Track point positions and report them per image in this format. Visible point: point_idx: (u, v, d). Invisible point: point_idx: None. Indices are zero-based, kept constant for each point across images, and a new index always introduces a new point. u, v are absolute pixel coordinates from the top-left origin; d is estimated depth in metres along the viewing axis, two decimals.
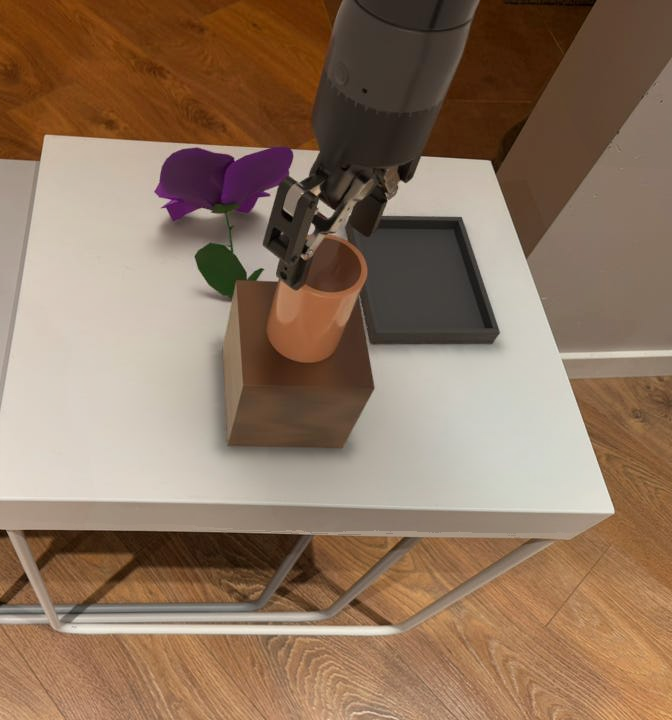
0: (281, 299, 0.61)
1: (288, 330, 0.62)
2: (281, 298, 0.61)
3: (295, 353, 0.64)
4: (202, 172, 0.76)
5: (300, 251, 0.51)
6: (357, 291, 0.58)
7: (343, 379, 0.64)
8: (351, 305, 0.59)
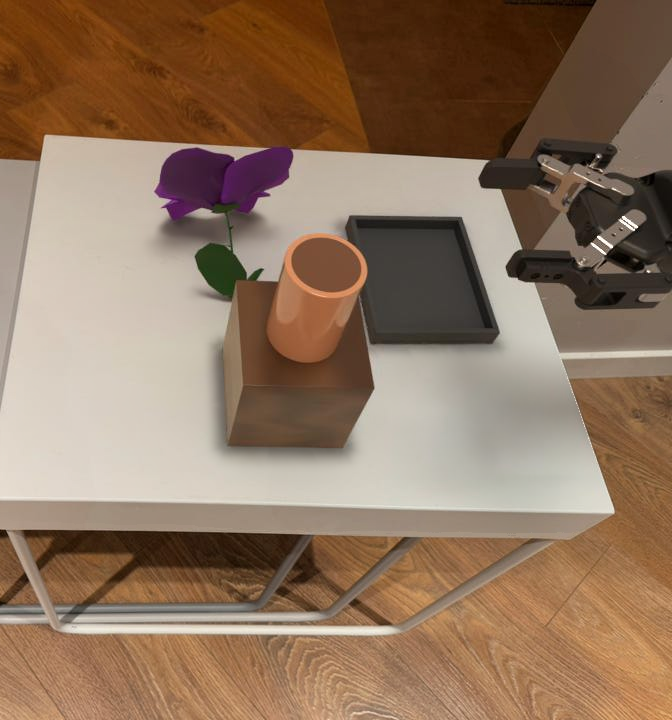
0: (281, 299, 0.61)
1: (288, 330, 0.62)
2: (281, 298, 0.61)
3: (295, 353, 0.64)
4: (202, 172, 0.76)
5: (555, 148, 0.57)
6: (357, 291, 0.58)
7: (343, 379, 0.64)
8: (351, 305, 0.59)
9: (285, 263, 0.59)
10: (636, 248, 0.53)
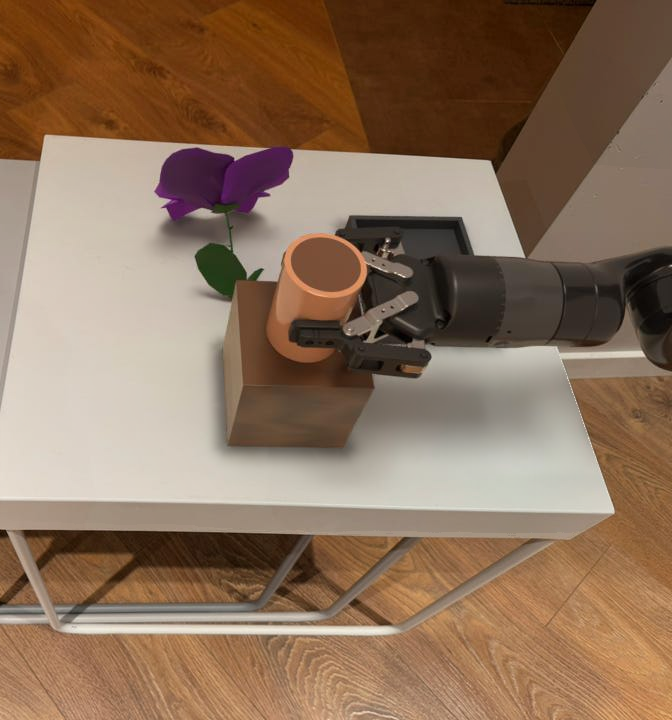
0: (281, 299, 0.61)
1: (288, 329, 0.62)
2: (280, 298, 0.61)
3: (295, 353, 0.64)
4: (202, 172, 0.76)
5: (348, 238, 0.64)
6: (357, 291, 0.58)
7: (343, 379, 0.64)
8: (351, 305, 0.59)
9: (285, 263, 0.59)
10: (408, 326, 0.60)
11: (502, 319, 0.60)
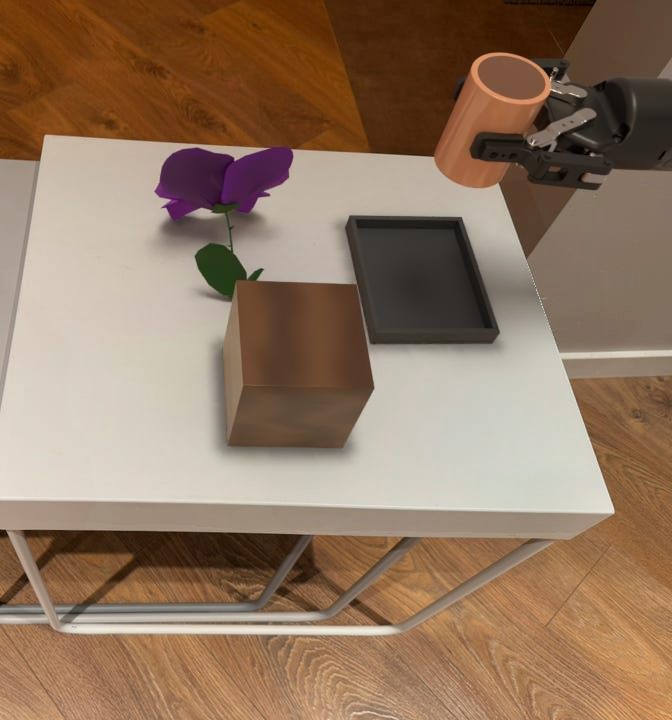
0: (463, 116, 0.63)
1: (466, 149, 0.64)
2: (463, 115, 0.63)
3: (468, 176, 0.66)
4: (202, 172, 0.76)
5: None
6: (544, 100, 0.60)
7: (343, 379, 0.64)
8: (534, 118, 0.62)
9: (472, 75, 0.61)
10: (587, 139, 0.62)
11: None
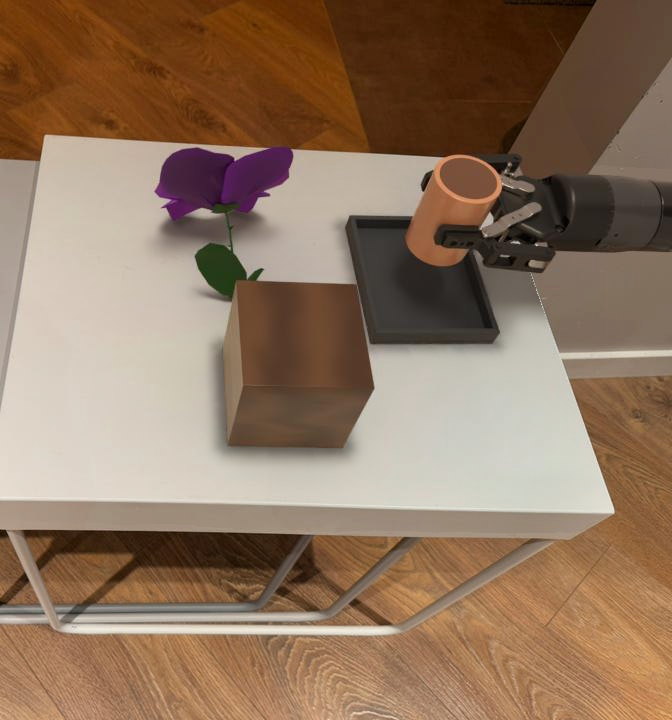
0: (428, 209, 0.74)
1: (431, 235, 0.75)
2: (427, 208, 0.74)
3: (434, 257, 0.77)
4: (202, 172, 0.76)
5: None
6: (495, 199, 0.71)
7: (343, 379, 0.64)
8: (488, 212, 0.72)
9: (435, 177, 0.72)
10: (533, 230, 0.73)
11: (611, 224, 0.73)
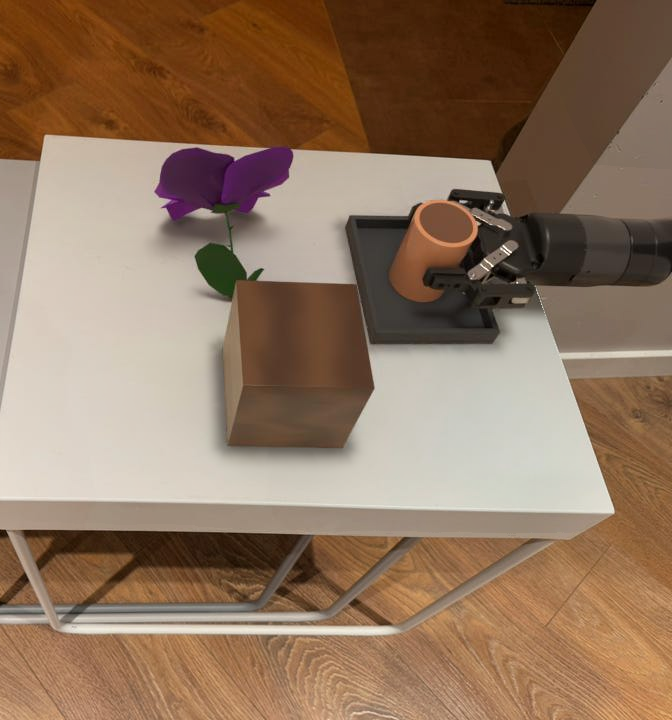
0: (409, 250, 0.79)
1: (412, 274, 0.80)
2: (408, 249, 0.79)
3: (414, 294, 0.82)
4: (202, 172, 0.76)
5: (461, 196, 0.82)
6: (471, 242, 0.76)
7: (343, 379, 0.64)
8: (464, 254, 0.77)
9: (415, 221, 0.77)
10: (510, 267, 0.77)
11: (583, 262, 0.77)
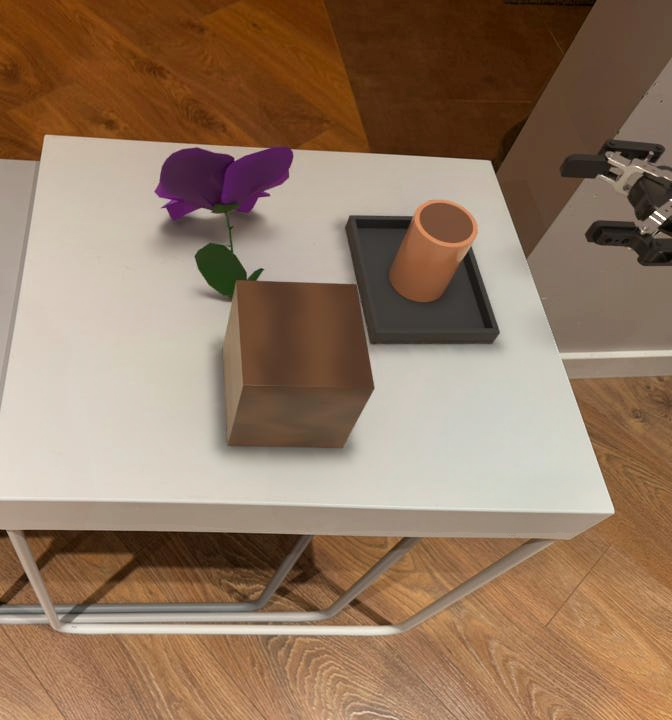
0: (409, 250, 0.79)
1: (412, 274, 0.80)
2: (408, 249, 0.79)
3: (414, 294, 0.82)
4: (202, 172, 0.76)
5: (618, 146, 0.75)
6: (471, 242, 0.76)
7: (343, 379, 0.64)
8: (464, 254, 0.77)
9: (415, 221, 0.77)
10: None
11: None
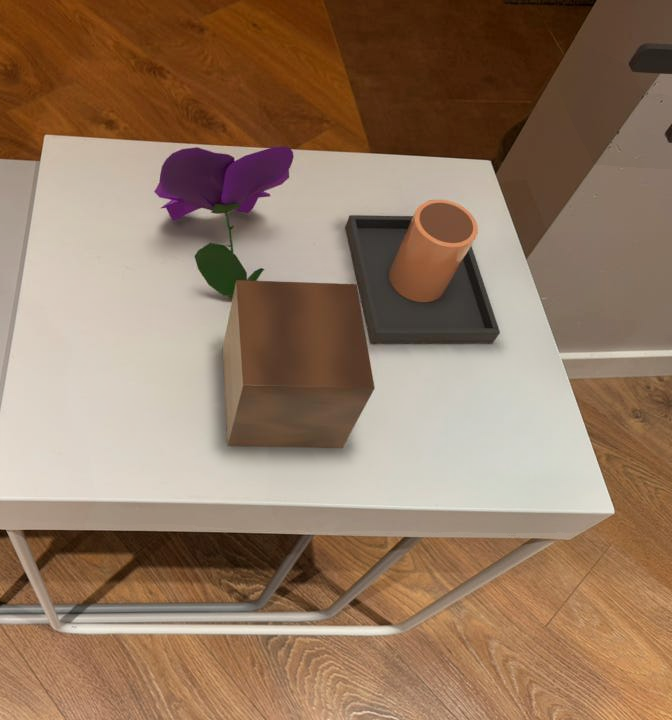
0: (409, 250, 0.79)
1: (412, 274, 0.80)
2: (408, 249, 0.79)
3: (414, 294, 0.82)
4: (202, 172, 0.76)
5: None
6: (471, 242, 0.76)
7: (343, 379, 0.64)
8: (464, 254, 0.77)
9: (415, 221, 0.77)
10: None
11: None
